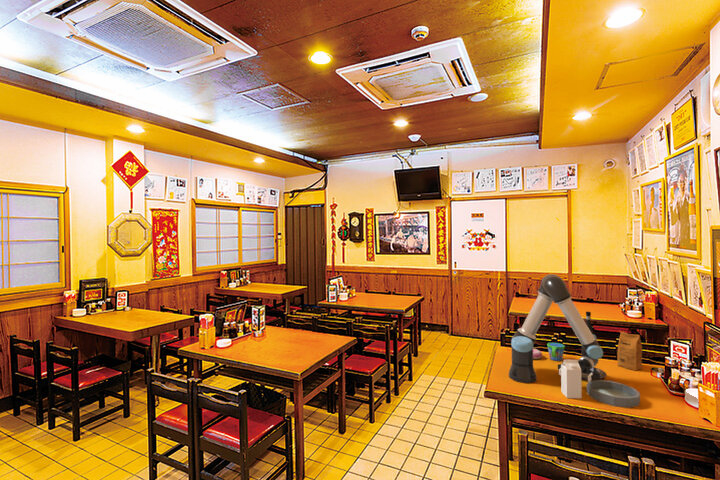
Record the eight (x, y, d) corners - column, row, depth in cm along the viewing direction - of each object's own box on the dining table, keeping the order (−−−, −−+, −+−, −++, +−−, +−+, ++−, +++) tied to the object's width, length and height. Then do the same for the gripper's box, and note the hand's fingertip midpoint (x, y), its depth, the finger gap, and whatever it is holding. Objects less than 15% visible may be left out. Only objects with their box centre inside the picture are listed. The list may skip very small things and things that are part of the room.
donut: (544, 360, 242) (544, 353, 242) (523, 360, 245) (523, 352, 245) (538, 354, 256) (538, 347, 256) (518, 353, 258) (518, 346, 258)
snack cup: (551, 354, 253) (551, 340, 253) (568, 358, 246) (567, 343, 246) (543, 360, 243) (543, 345, 242) (560, 364, 235) (560, 348, 235)
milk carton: (561, 392, 193) (560, 357, 193) (575, 392, 192) (574, 357, 192) (567, 398, 186) (566, 361, 186) (581, 398, 185) (581, 362, 185)
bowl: (596, 404, 179) (595, 395, 179) (582, 386, 200) (581, 378, 200) (647, 409, 173) (647, 400, 173) (627, 390, 194) (627, 382, 194)
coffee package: (623, 362, 236) (623, 329, 235) (645, 369, 224) (644, 334, 224) (614, 365, 232) (613, 331, 231) (635, 371, 220) (635, 336, 220)
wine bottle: (596, 356, 249) (596, 313, 249) (583, 355, 252) (583, 312, 252) (593, 352, 257) (593, 311, 257) (581, 351, 260) (580, 310, 259)
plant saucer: (590, 385, 202) (590, 379, 202) (558, 372, 221) (558, 367, 221) (614, 379, 210) (614, 373, 210) (581, 367, 229) (581, 362, 229)
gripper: (610, 377, 196) (601, 389, 181) (560, 366, 213) (548, 376, 199) (610, 363, 196) (601, 374, 181) (560, 353, 213) (548, 362, 199)
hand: (573, 375), depth 190 cm, fingers open, 13 cm apart
